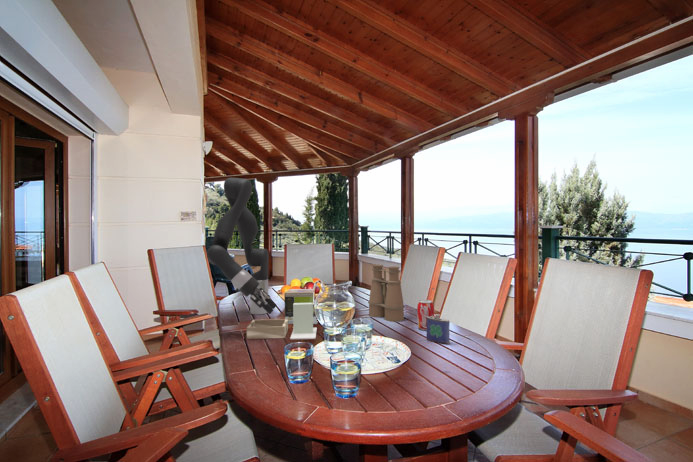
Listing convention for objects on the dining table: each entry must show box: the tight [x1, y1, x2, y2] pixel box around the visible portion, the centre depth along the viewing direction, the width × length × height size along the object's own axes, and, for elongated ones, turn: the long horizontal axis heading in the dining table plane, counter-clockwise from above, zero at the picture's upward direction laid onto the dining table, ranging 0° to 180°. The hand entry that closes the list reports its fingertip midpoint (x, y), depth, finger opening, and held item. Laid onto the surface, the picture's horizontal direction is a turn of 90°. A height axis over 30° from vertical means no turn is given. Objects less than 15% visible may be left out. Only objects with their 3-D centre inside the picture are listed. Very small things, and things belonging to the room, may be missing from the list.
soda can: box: [416, 299, 435, 332], centre depth 154 cm, size 7×7×12 cm
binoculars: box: [367, 264, 405, 323], centre depth 174 cm, size 21×10×25 cm, turn 41°
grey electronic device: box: [284, 288, 319, 325], centre depth 167 cm, size 15×10×15 cm
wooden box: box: [246, 318, 289, 340], centre depth 149 cm, size 12×15×4 cm
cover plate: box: [292, 303, 314, 334], centre depth 149 cm, size 3×8×12 cm, turn 93°
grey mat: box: [289, 327, 318, 340], centre depth 148 cm, size 14×10×1 cm
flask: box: [425, 313, 451, 345], centre depth 137 cm, size 9×3×11 cm, turn 50°
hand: (273, 309), depth 148 cm, fingers open, 8 cm apart
